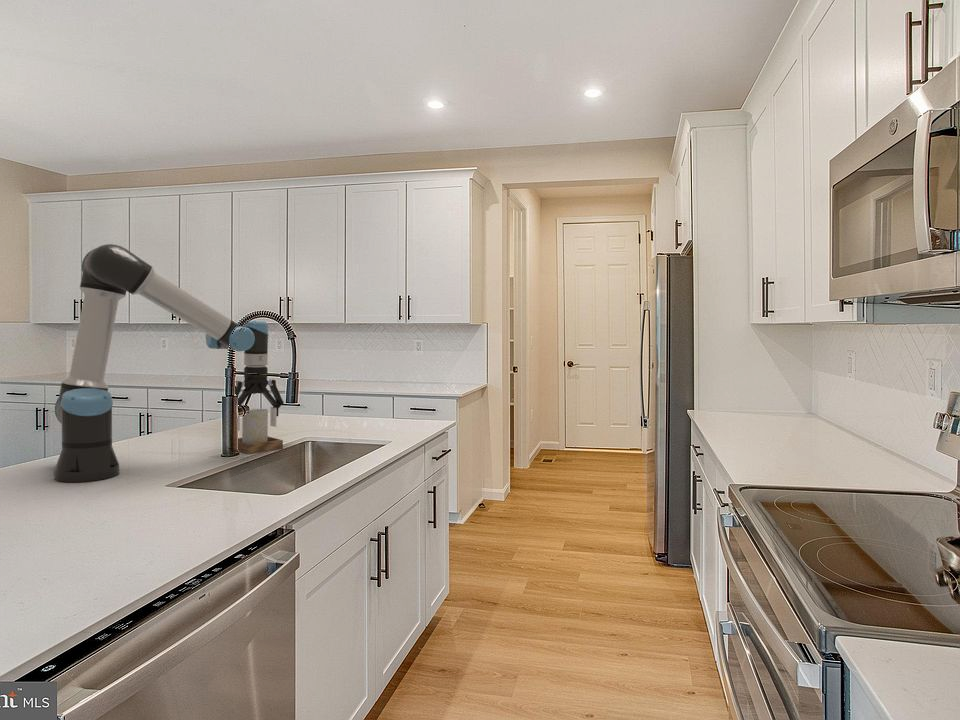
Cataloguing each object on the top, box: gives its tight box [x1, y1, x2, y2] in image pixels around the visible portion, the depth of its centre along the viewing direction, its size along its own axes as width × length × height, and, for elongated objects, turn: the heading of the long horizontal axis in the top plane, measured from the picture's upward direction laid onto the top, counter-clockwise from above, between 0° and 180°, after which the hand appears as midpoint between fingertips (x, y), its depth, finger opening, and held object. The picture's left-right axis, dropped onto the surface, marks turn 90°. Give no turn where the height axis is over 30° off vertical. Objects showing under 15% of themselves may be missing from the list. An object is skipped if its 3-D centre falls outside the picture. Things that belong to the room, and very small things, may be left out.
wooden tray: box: [237, 435, 284, 455], centre depth 212 cm, size 13×13×3 cm
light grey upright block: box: [241, 408, 269, 444], centre depth 212 cm, size 8×8×12 cm
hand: (255, 428), depth 212 cm, fingers open, 13 cm apart
